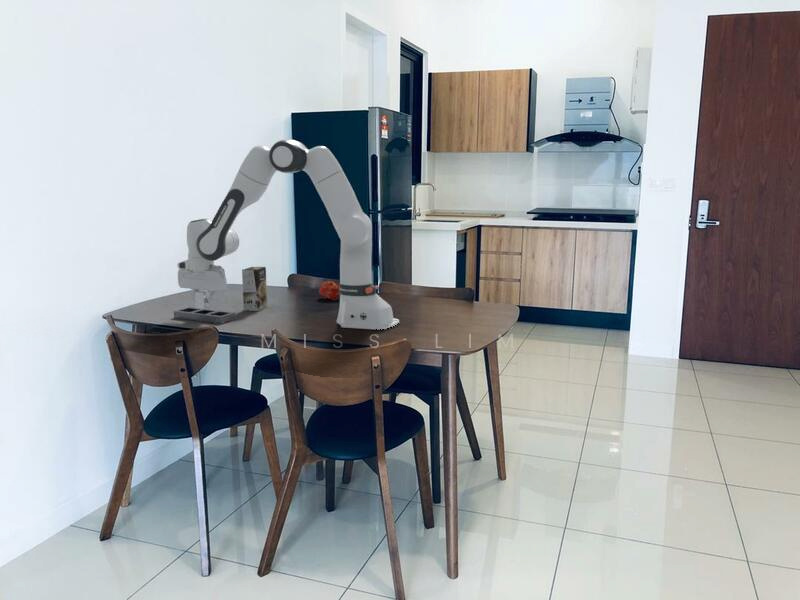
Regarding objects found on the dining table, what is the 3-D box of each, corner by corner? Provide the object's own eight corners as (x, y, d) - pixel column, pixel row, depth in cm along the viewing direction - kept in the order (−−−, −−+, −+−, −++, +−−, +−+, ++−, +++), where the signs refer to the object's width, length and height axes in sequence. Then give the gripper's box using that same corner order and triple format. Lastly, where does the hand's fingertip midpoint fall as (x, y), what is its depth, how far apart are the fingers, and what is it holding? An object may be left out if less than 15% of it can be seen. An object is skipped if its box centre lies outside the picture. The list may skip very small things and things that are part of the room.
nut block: (212, 306, 234) (211, 290, 233) (204, 308, 230) (203, 292, 229) (203, 305, 235) (202, 289, 234) (195, 307, 232) (194, 291, 231)
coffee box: (258, 311, 246) (256, 270, 242) (243, 310, 247) (241, 269, 244) (268, 306, 254) (266, 266, 251) (253, 305, 256) (251, 266, 252)
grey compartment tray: (235, 319, 233) (235, 312, 232) (220, 323, 226) (220, 317, 225) (189, 313, 242) (189, 307, 241) (174, 317, 235) (173, 311, 234)
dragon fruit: (319, 300, 273) (342, 307, 268) (310, 292, 266) (333, 299, 261) (328, 283, 276) (351, 290, 270) (319, 274, 269) (342, 281, 263)
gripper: (229, 264, 228) (231, 302, 231) (186, 261, 237) (188, 297, 239) (217, 267, 223) (220, 305, 225) (173, 263, 231) (176, 300, 234)
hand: (203, 301), depth 232 cm, fingers closed on nut block, 4 cm apart
